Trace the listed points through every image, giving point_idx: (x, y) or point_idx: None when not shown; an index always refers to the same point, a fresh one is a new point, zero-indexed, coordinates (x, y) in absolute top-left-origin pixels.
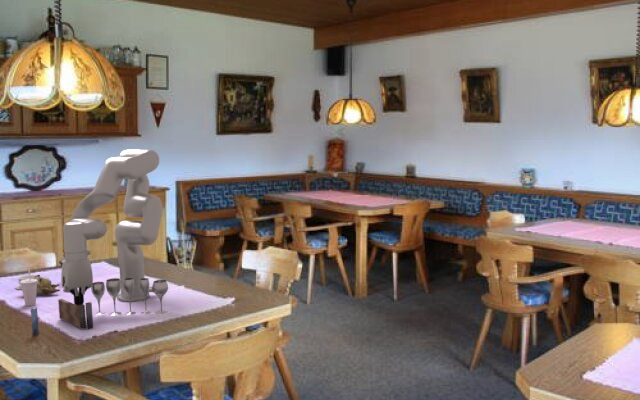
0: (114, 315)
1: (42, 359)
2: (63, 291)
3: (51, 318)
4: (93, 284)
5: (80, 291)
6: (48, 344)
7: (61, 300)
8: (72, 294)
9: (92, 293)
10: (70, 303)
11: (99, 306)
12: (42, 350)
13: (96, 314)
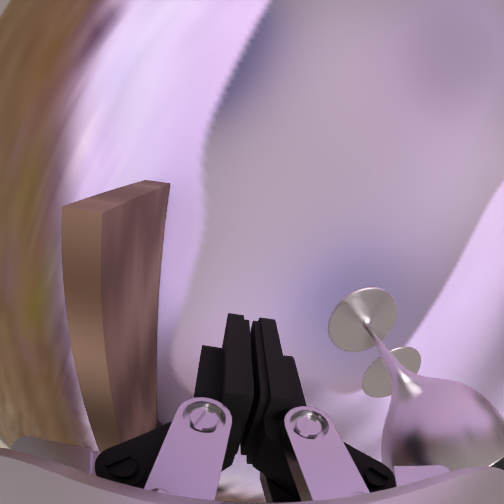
0: (367, 393)
1: (9, 442)
2: (20, 442)
3: (131, 106)
4: (486, 447)
5: (281, 468)
6: (18, 408)
7: (70, 287)
8: (182, 406)
9: (395, 426)
10: (105, 430)
11: (382, 355)
12: (6, 418)
13: (345, 322)
